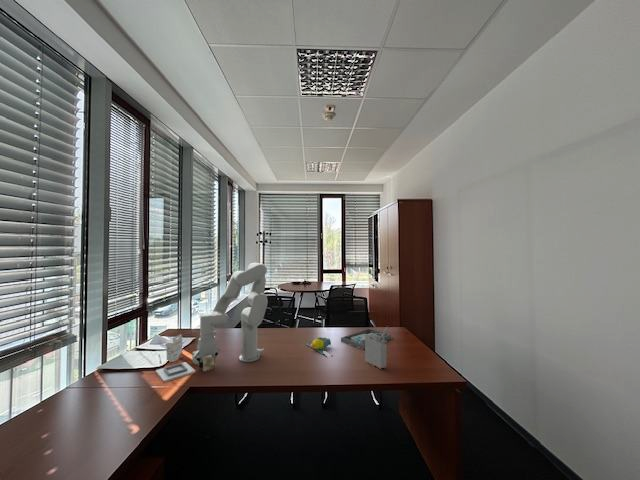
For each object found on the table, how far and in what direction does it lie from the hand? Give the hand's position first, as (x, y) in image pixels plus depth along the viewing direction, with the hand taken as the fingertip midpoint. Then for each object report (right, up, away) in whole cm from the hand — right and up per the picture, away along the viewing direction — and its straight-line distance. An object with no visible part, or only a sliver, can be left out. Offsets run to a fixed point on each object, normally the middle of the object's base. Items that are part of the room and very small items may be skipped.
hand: (207, 366), depth 165 cm
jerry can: (+99, -2, +4) cm, 99 cm away
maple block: (0, -1, 0) cm, 1 cm away
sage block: (-8, -1, +9) cm, 12 cm away
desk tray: (+100, -1, +47) cm, 110 cm away
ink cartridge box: (-25, -1, +12) cm, 28 cm away
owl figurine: (+65, -2, +29) cm, 72 cm away
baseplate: (-16, -1, -5) cm, 17 cm away
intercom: (+102, -2, +48) cm, 112 cm away
